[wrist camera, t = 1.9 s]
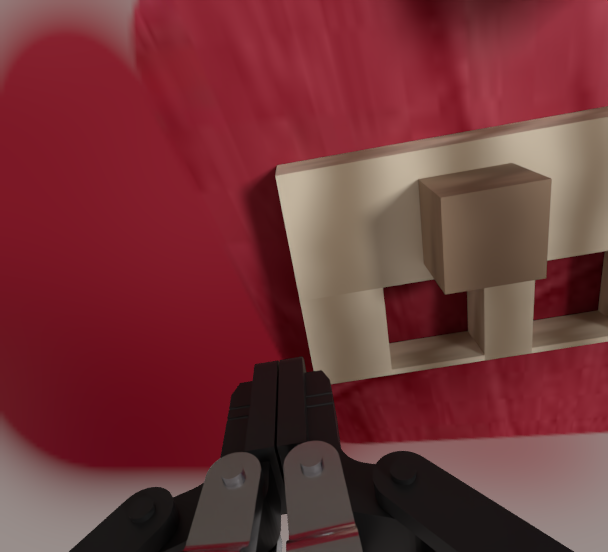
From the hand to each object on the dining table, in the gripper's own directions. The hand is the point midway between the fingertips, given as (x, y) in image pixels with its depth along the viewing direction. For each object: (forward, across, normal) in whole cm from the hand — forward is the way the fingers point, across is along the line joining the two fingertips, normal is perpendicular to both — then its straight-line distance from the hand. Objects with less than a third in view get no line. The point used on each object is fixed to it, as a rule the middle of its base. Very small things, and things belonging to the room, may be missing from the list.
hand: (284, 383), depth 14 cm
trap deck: (+16, -15, +3) cm, 22 cm away
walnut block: (+12, -10, 0) cm, 16 cm away
